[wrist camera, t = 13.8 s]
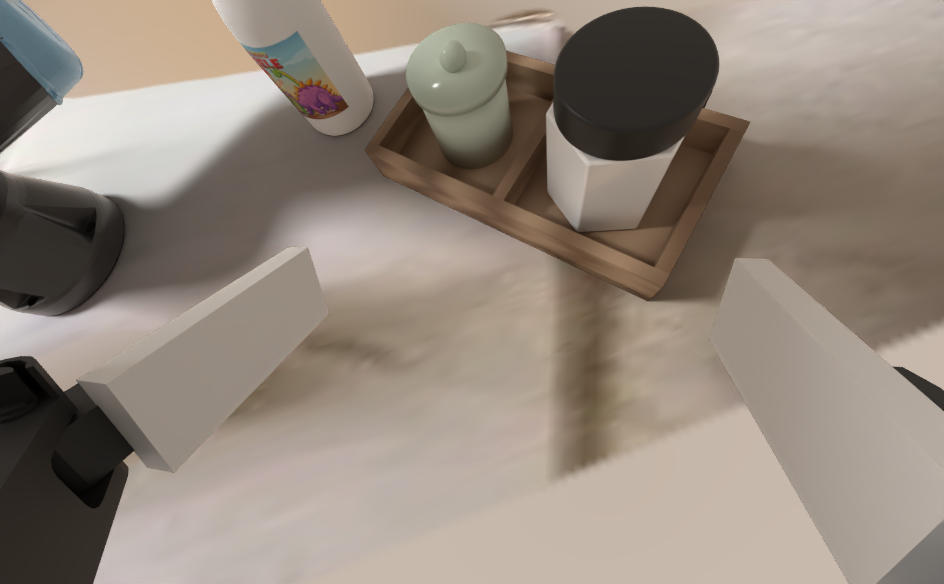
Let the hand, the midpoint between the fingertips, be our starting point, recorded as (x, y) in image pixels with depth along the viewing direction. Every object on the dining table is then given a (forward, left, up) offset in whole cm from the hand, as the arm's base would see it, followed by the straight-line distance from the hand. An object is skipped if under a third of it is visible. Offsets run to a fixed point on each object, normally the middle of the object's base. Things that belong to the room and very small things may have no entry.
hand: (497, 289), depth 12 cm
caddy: (-8, +15, -18) cm, 25 cm away
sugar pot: (-14, +15, -17) cm, 27 cm away
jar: (-1, +15, -17) cm, 23 cm away
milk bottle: (-31, +13, -18) cm, 38 cm away
